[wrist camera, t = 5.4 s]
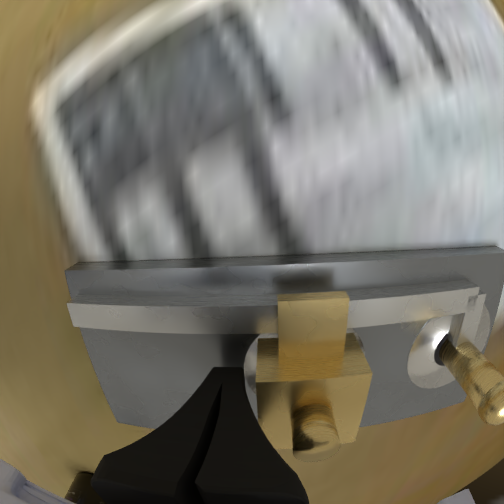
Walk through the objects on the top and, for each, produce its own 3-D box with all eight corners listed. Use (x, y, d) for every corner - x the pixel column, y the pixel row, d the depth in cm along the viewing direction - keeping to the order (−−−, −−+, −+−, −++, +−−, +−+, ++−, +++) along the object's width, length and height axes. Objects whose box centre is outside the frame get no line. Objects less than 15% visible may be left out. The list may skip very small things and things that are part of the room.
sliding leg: (261, 405, 13) (258, 479, 9) (254, 284, 11) (248, 351, 7) (342, 400, 13) (362, 469, 8) (358, 279, 11) (403, 339, 7)
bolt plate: (123, 410, 16) (82, 491, 9) (77, 262, 13) (-20, 325, 6) (456, 390, 15) (502, 460, 8) (496, 246, 12) (586, 293, 5)
